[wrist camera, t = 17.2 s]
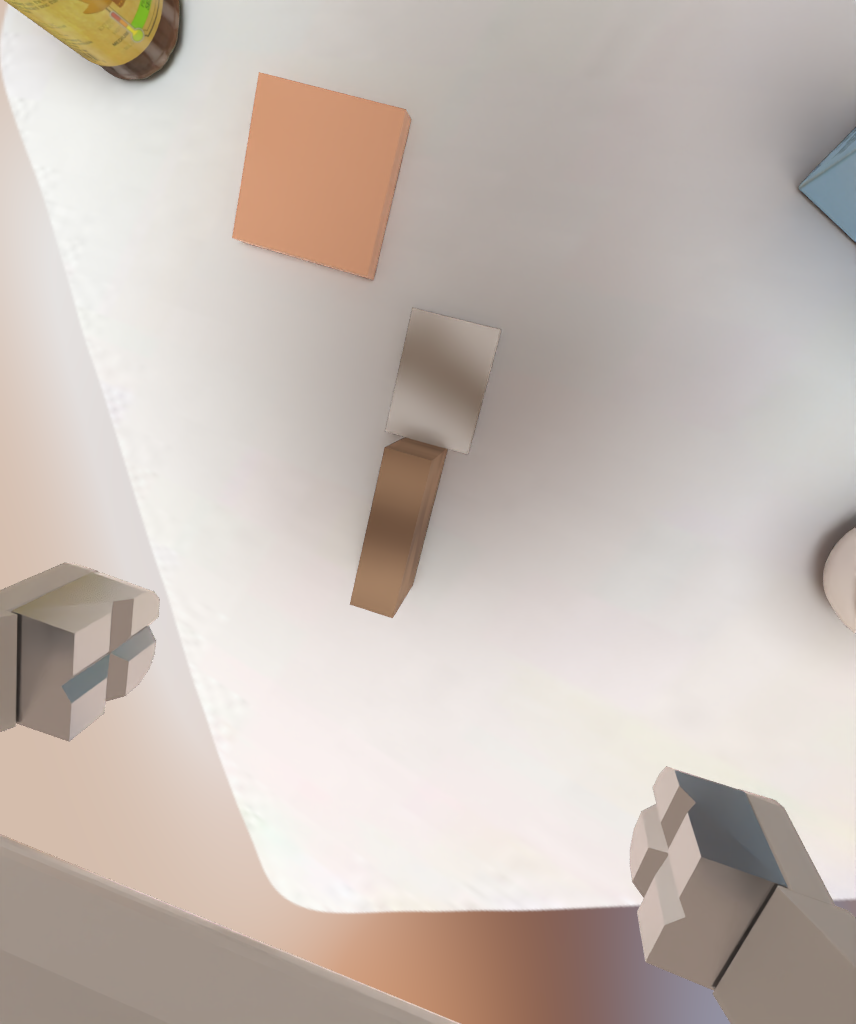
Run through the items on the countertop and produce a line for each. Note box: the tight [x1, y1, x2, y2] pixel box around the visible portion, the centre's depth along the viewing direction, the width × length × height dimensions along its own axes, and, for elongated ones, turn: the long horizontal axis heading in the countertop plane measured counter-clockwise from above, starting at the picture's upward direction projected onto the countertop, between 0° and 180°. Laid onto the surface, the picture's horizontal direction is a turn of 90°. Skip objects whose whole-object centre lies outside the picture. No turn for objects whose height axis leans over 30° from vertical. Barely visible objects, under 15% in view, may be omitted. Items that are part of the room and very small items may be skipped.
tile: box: [232, 72, 411, 280], centre depth 30 cm, size 8×2×8 cm
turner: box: [350, 308, 501, 618], centre depth 31 cm, size 16×5×5 cm, turn 166°
